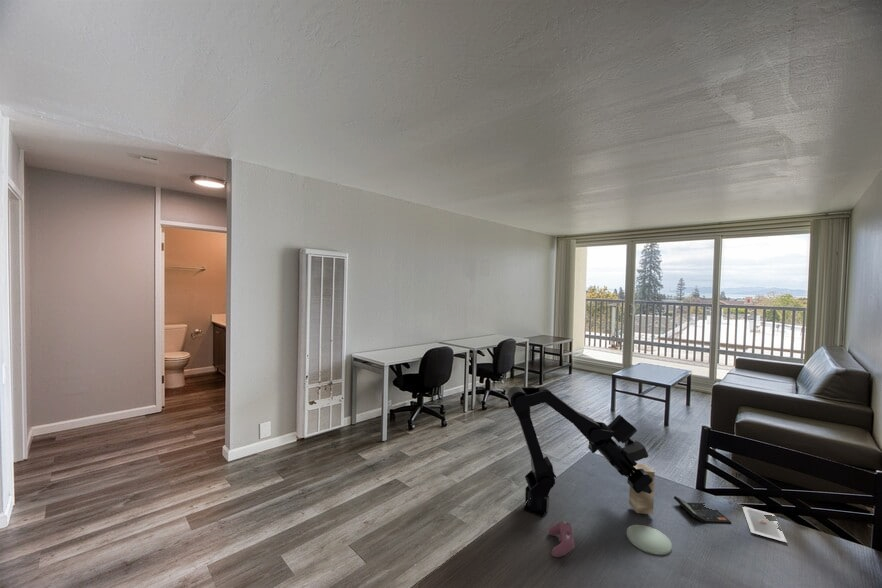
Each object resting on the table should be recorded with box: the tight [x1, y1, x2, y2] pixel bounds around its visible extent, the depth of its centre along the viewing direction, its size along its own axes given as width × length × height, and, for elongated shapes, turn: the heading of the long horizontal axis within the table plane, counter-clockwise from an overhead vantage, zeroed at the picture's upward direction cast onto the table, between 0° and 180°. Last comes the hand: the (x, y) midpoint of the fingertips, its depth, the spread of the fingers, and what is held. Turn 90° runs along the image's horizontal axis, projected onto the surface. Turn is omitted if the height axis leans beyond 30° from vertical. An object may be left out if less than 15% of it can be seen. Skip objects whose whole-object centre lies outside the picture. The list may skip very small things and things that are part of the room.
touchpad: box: [741, 506, 788, 544], centre depth 110 cm, size 8×15×2 cm, turn 148°
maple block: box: [628, 463, 655, 515], centre depth 115 cm, size 5×5×13 cm
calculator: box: [673, 495, 732, 525], centre depth 115 cm, size 9×12×3 cm
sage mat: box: [626, 524, 673, 556], centre depth 102 cm, size 11×11×1 cm
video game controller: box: [547, 519, 575, 558], centre depth 99 cm, size 10×5×7 cm, turn 169°
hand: (646, 487), depth 115 cm, fingers closed on maple block, 5 cm apart
